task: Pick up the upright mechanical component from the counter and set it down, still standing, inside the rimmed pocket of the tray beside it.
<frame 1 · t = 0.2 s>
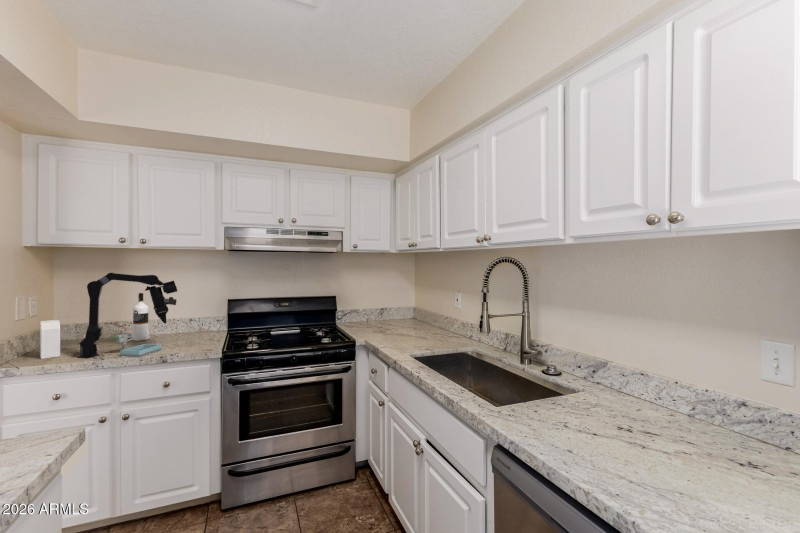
hand: (164, 322, 207), 15 cm above the worktop, tool pointing down, fingers open, 9 cm apart
mechanical component: (123, 352, 197), on the worktop
vodka: (140, 339, 230), on the worktop
tray: (141, 353, 196), on the worktop
milk carton: (50, 357, 187), on the worktop
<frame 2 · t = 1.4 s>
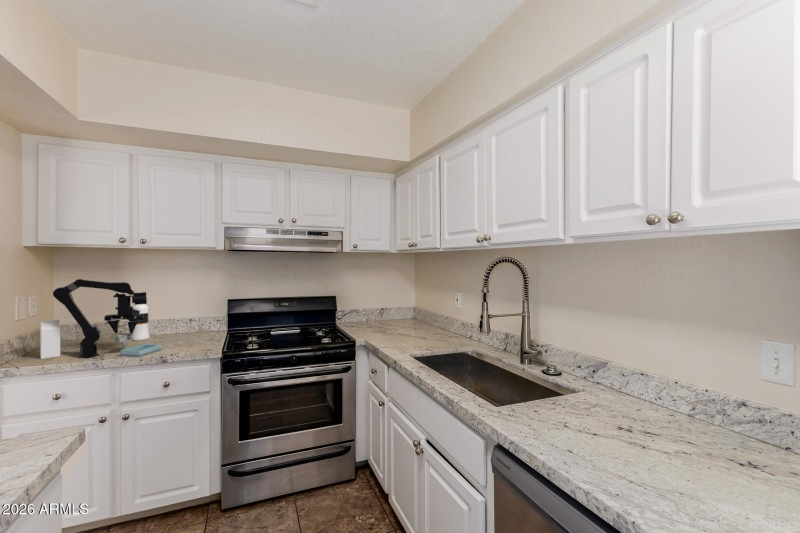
hand: (123, 333, 197), 11 cm above the worktop, tool pointing down, fingers open, 9 cm apart
nothing on the worktop moved.
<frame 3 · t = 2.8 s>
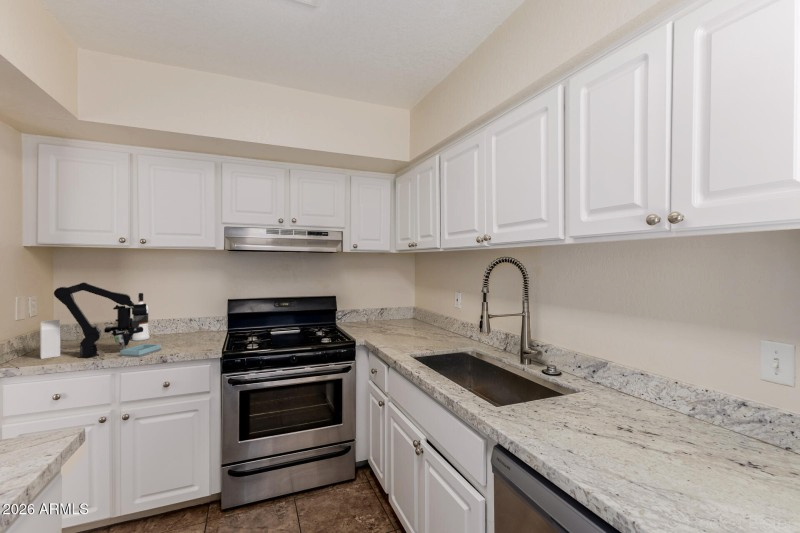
hand: (123, 345, 197), 4 cm above the worktop, tool pointing down, fingers closed on mechanical component, 3 cm apart
mechanical component: (123, 352, 197), on the worktop, touching gripper
everything else where it was.
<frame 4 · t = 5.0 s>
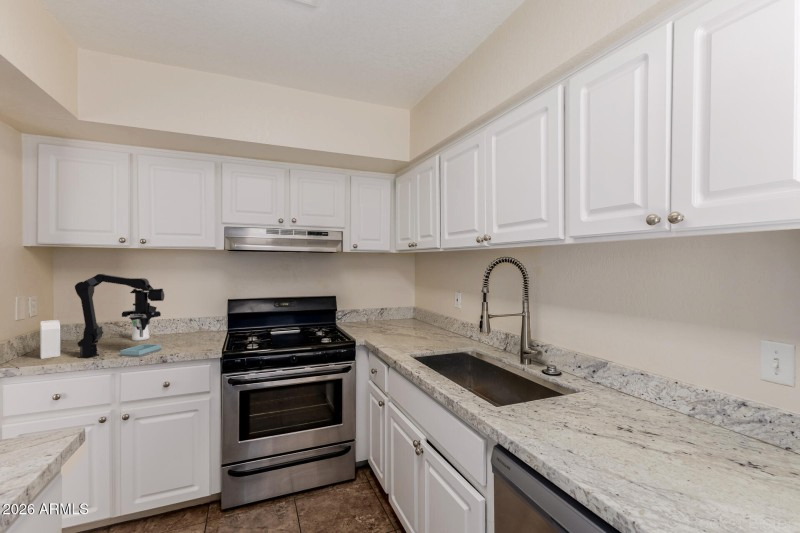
hand: (141, 329, 196), 13 cm above the worktop, tool pointing down, fingers closed on mechanical component, 3 cm apart
mechanical component: (141, 337, 196), point 9 cm above the worktop, touching gripper
everything else where it was.
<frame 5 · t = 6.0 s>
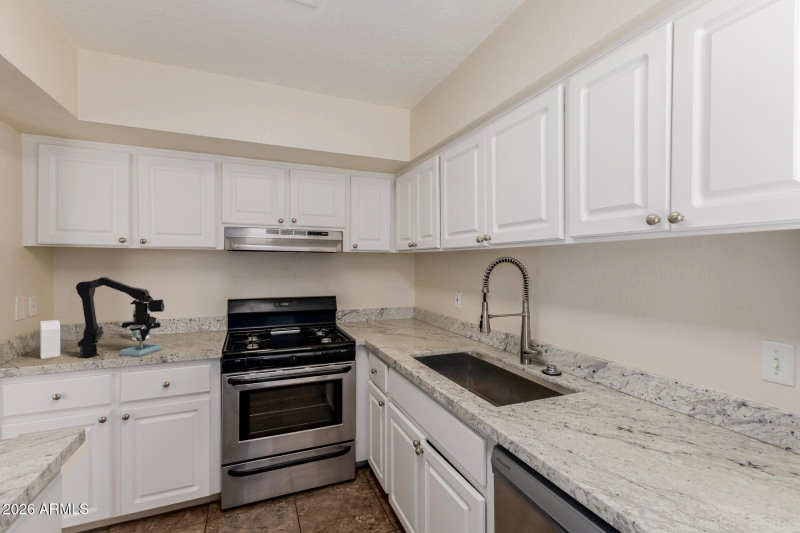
hand: (141, 340, 196), 7 cm above the worktop, tool pointing down, fingers closed on mechanical component, 3 cm apart
mechanical component: (141, 348, 196), point 3 cm above the worktop, touching gripper
everything else where it was.
when the fingers open (6 cm above the worktop, at t = 7.1 s): mechanical component stays where it is, resting on tray.
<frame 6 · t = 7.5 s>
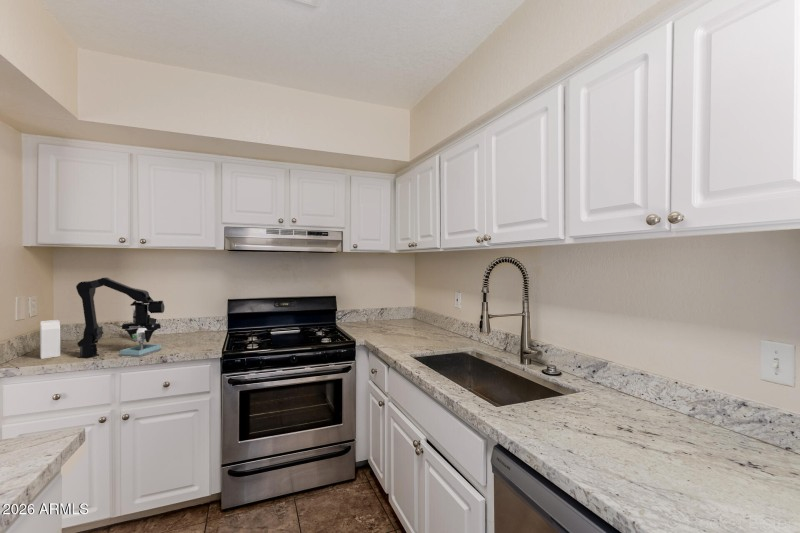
hand: (141, 341, 196), 6 cm above the worktop, tool pointing down, fingers open, 7 cm apart
mechanical component: (141, 351, 196), point 1 cm above the worktop, touching tray
everything else where it was.
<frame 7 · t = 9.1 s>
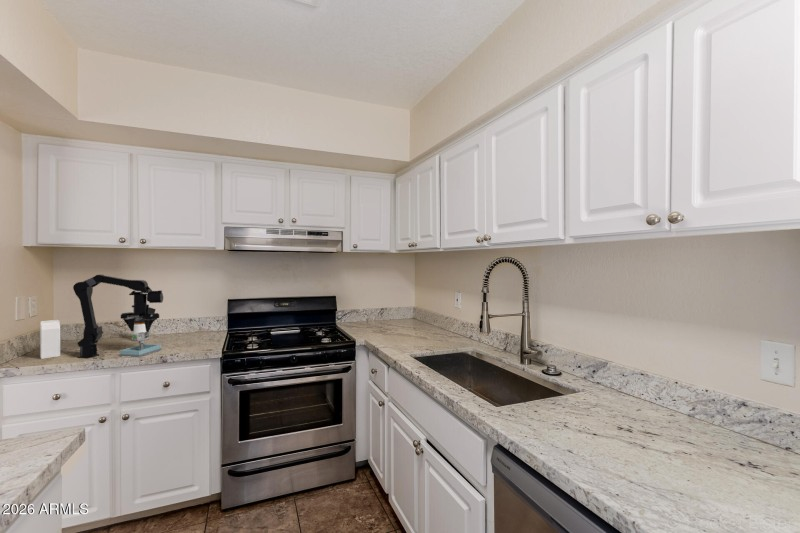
hand: (140, 331, 196), 12 cm above the worktop, tool pointing down, fingers open, 9 cm apart
nothing on the worktop moved.
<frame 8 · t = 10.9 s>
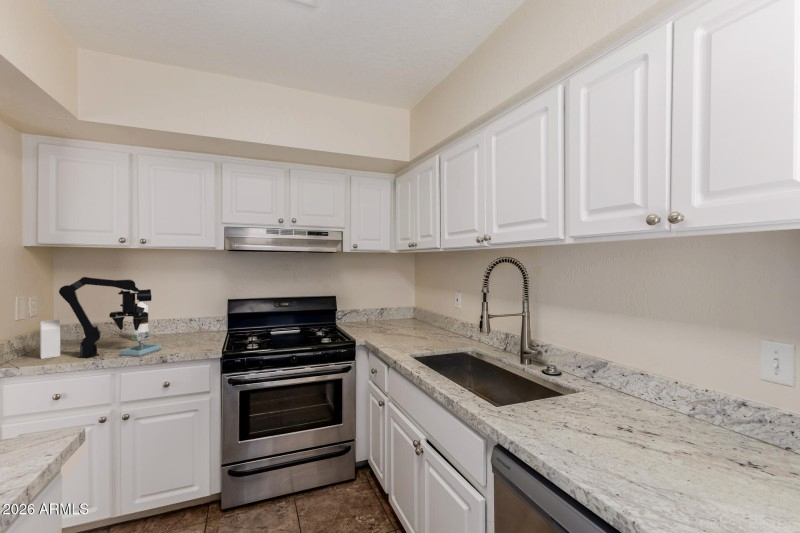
hand: (128, 330, 199), 12 cm above the worktop, tool pointing down, fingers open, 9 cm apart
nothing on the worktop moved.
at the end: mechanical component 0.1 cm off-centre on the tray, point 1.0 cm above the tray's base; mechanical component tilted 0°; the gripper is holding nothing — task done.
